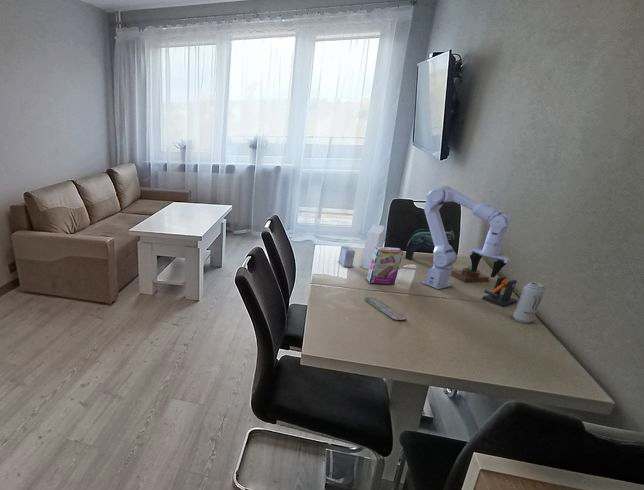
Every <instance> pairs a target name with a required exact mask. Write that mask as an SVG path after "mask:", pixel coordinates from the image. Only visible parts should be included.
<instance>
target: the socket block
mask: <svg viewBox="0 0 644 490" xmlns="http://www.w3.org/2000/svg"><path fill="white" fill-rule="evenodd" d="M450 276H452V277H454V278H456V279H458V280H460V281H462V282H464V283H481V282H483V283H484V282H488V281H489V280H490V276H488V275H486V274H484V273H481V271H480V269H477V272H470V271H467V267H463V268H462V270H461V269H460V270H451V274H450Z"/></svg>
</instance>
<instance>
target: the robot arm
mask: <svg viewBox="0 0 644 490" xmlns="http://www.w3.org/2000/svg"><path fill="white" fill-rule="evenodd" d="M447 202H448V203H449V202H451V203H452V202H454V203H456V204H458V205H460V206H463V207H464V208H466V209H468V210H470V211H472V215H473V216H475V217H476V218H478V219H480V220H482V221H483V222H485V223H487V224H489V226H490V227H489V229H488V231H487V234H486V238H485V241H484V244H483V247H482V249H480V248H477V247H471V248H470V249H469V258H470V261H471V266H472V271H476V270H478V267H479V264H480V261H481V260H482V258H483V257H484V258H488V259H491V260H494V261H493V267H492V270H491V274H490V278H496V276H497V275H498V273H499V272H500V271H501V269H502V268H504V267H505V266H506V265H507V264H509V263H510V262H511V257H508V256H505V255H503V254H500V251H501V249H502V246H503V244H504V240H505V237H506V235H507V231H508V228H509V227H510V225H511V224H512V222H513V218H512V215H510V214H509V213H508V212H506V211H505V212H503V211H502V210H501V209H496V208H495V207H493V206H491V203H488V202H487V203H485V202H480V203H478V202H477V201H475V200H473V199H472V198H470V197H468V196H466V195H465V194H463V193H461V192H460V191H458V190H457V189H455V188H452V187H450V186H448V185H444V186H440V187H434V188H431V190H430V191H429V192H428V193H427V194H426V201H425V203H424V208H423V212H424V214H425V219H426V221H427V225H428V230H429V231H430V232H431V235H432V239H433V242H434V246H435V249H434V252H433V251H432V253H433V259H432V260H433V266H432V267H431V268H429V269H428V270H427V271H426V275H425V278H424V280H423V281H422V282H421V283H422V284H424V285H426V286H429V287H431V288H434V289H437V290H440V289H445V288H449V287H452V284H449V280H450V277H451V273H452V271H453V264H454V263H456V262H457V260H458V255H457V253H456V252H455V250H454V248H453V246H452V245H451V244H450V245H449V244H448V240H447V237H446V233H445V232H446V230H445V227H444V223H443V220H442V216H441V213H440V209H441V208H442V206H443V205H444V204H445V203H447Z"/></svg>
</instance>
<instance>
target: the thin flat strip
mask: <svg viewBox="0 0 644 490" xmlns="http://www.w3.org/2000/svg"><path fill="white" fill-rule="evenodd" d="M365 301H367V302H368V303H369V304H370V305H372V306H373V307H374V308H376V309H377V310H379V311H380V312H382V313H383V314H385V315H386V316H388V317H389V318H391V319H393V320H396V321H397V320H399V321H400V320H401V321H402V320H406V317H404V316H402V315H401V314H400V313H398V312H397V311H395V310H394V309H392V308H390V307H389V306H388V305H385V304H384V303H383V302H381V301H379V300H378V299H377V298H376V297H368V296H367V298H365Z"/></svg>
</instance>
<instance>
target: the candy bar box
mask: <svg viewBox="0 0 644 490" xmlns="http://www.w3.org/2000/svg"><path fill="white" fill-rule="evenodd" d="M403 255H404V250H402V249H401V248H399V247H389V246H388V247H387V246H386V247H385V246H383V247H374V251H373V255H372V259H371V263H370V267H369V270H368V272H367V276H366V281H367V282H368V284H372V285H373V284H374V285H388V286H389V285H390V286H395V284H396V280H397V277H398V273H399V269H400V266H401V261H402V258H403Z"/></svg>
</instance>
